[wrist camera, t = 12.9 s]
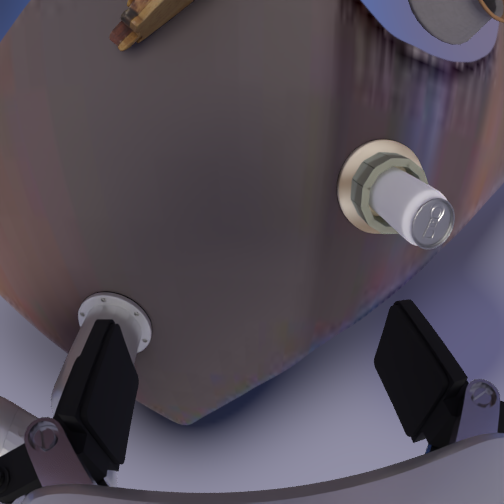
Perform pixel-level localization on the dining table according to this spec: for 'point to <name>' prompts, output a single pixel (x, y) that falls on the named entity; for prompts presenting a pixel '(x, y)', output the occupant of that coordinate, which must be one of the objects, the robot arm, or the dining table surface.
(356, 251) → the dining table surface
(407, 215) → the can
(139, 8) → the wooden carving
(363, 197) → the cup holder
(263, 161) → the dining table surface
